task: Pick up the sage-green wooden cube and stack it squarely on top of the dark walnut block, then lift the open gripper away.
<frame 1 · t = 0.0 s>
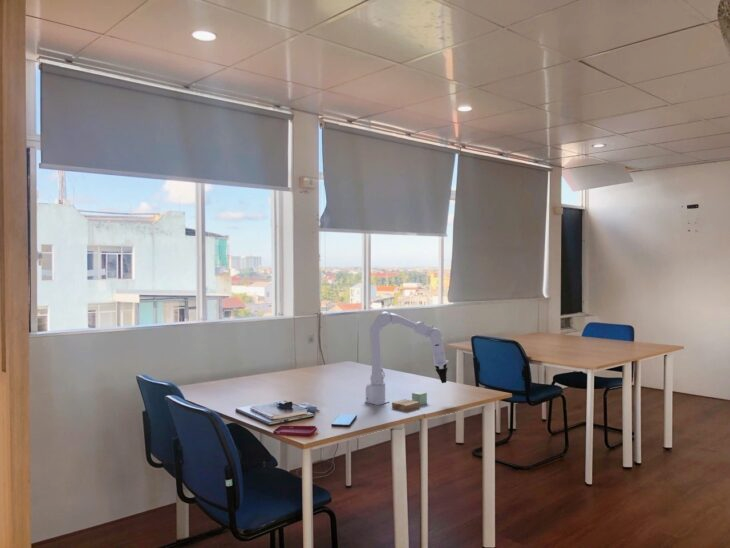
hand: (443, 381, 278), 10 cm above the table, tool pointing down, fingers open, 7 cm apart
walnut block: (405, 408, 269), on the table
green cube: (419, 403, 278), on the table
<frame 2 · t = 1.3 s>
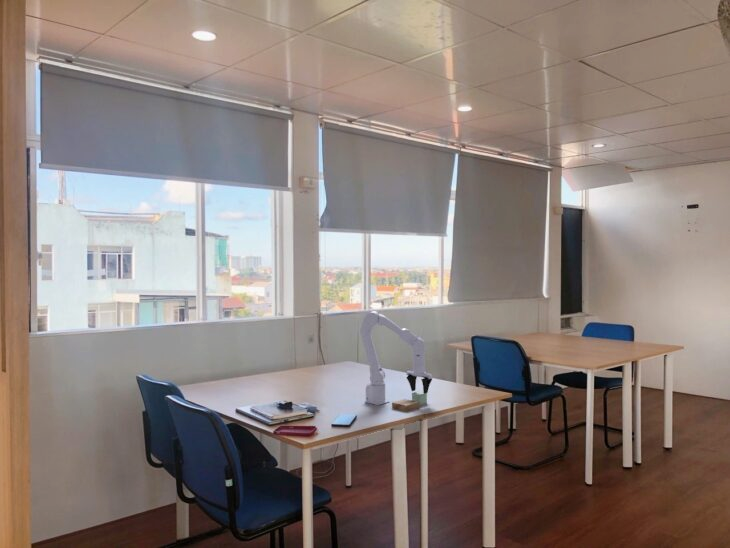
hand: (419, 391, 278), 5 cm above the table, tool pointing down, fingers open, 7 cm apart
nothing on the table moved.
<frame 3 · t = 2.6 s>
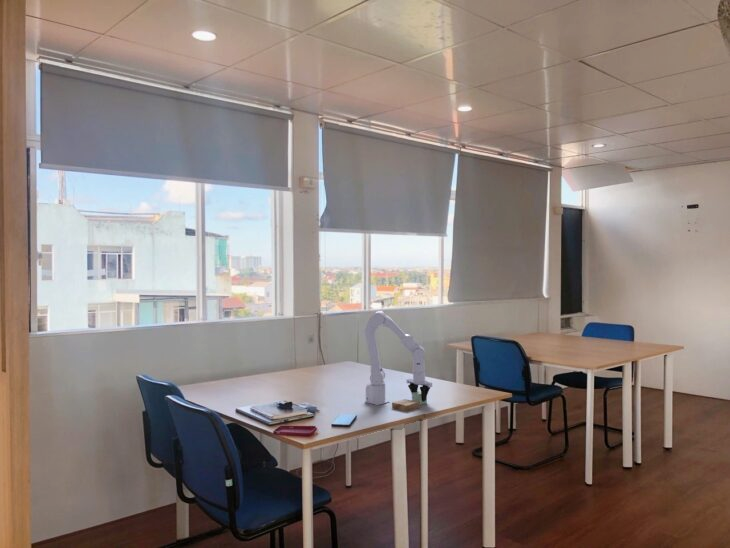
hand: (419, 400, 278), 1 cm above the table, tool pointing down, fingers closed on green cube, 5 cm apart
green cube: (419, 403, 278), on the table, touching gripper
everything else where it was.
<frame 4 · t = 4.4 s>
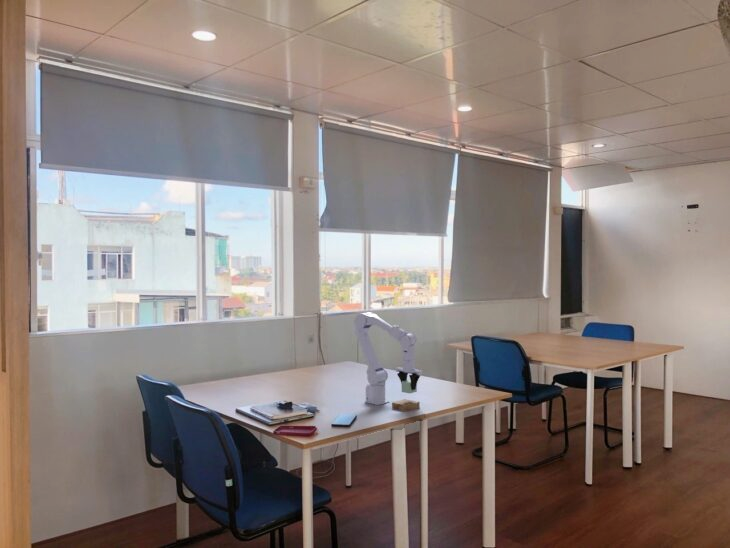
hand: (408, 388, 271), 8 cm above the table, tool pointing down, fingers closed on green cube, 5 cm apart
green cube: (409, 391, 271), point 7 cm above the table, touching gripper
everything else where it was.
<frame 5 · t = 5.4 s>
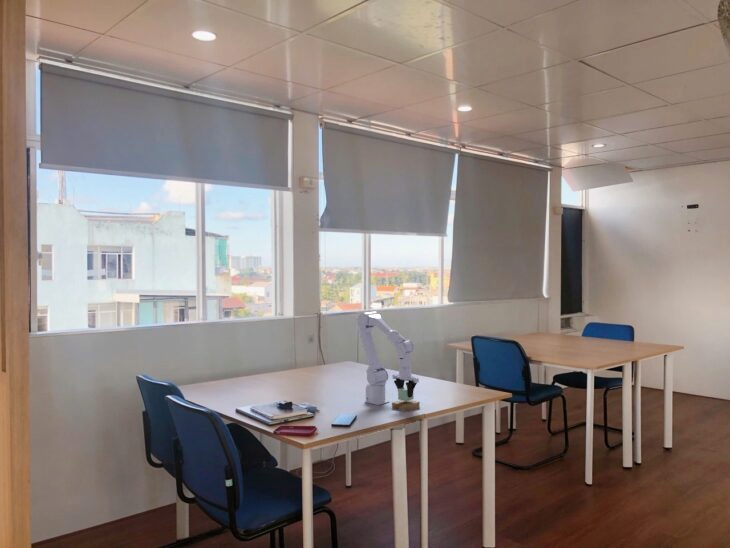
hand: (405, 396, 269), 5 cm above the table, tool pointing down, fingers closed on green cube, 5 cm apart
green cube: (405, 399, 269), point 4 cm above the table, touching gripper
everything else where it was.
when the fingers open (5 cm above the table, at t = 6.1 s): green cube drops 1 cm, point 3 cm above the table.
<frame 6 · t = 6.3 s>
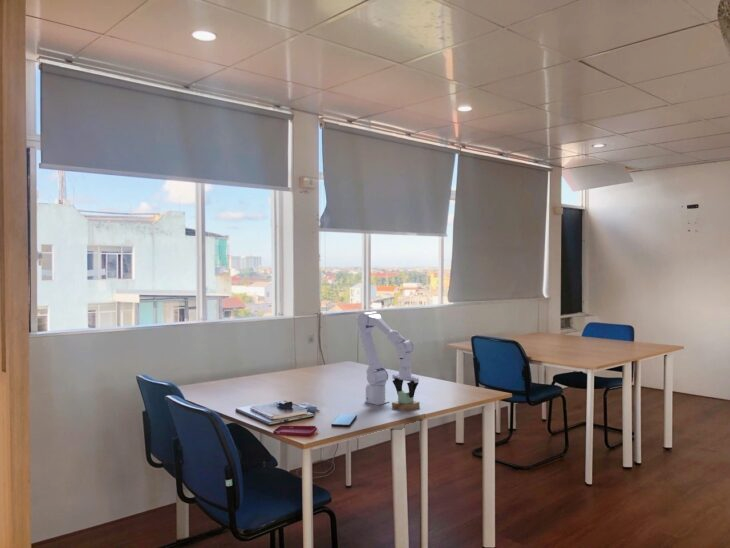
hand: (405, 396, 269), 5 cm above the table, tool pointing down, fingers open, 7 cm apart
green cube: (405, 402, 269), point 3 cm above the table
everything else where it was.
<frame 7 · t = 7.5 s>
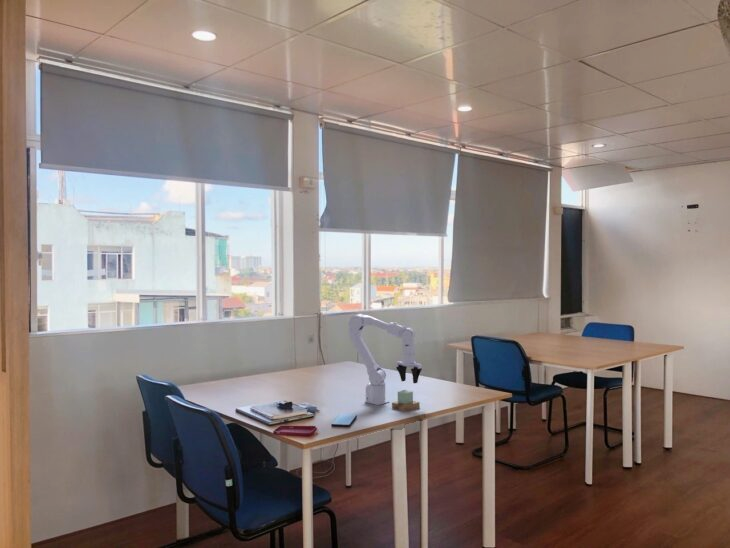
hand: (409, 382, 276), 10 cm above the table, tool pointing down, fingers open, 7 cm apart
nothing on the table moved.
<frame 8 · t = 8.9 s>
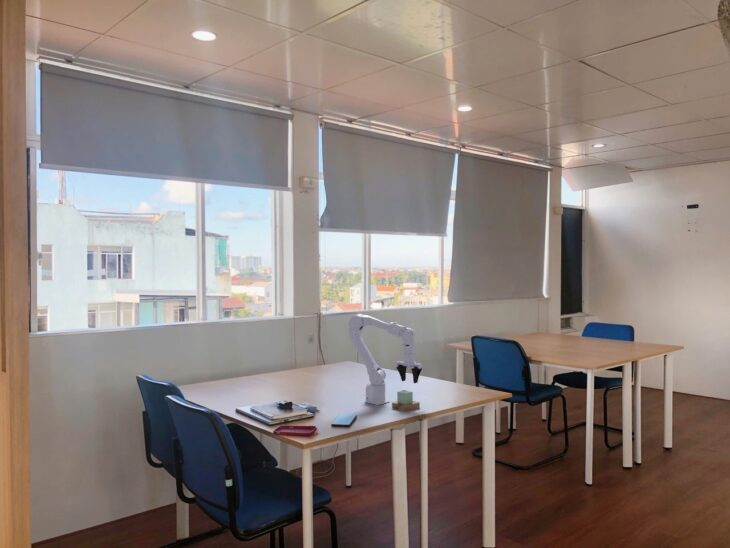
hand: (409, 381, 277), 10 cm above the table, tool pointing down, fingers open, 7 cm apart
nothing on the table moved.
at the end: green cube 0.4 cm off-centre on the walnut block, point 3.0 cm above the walnut block's base; green cube tilted 1°; the gripper is holding nothing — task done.
